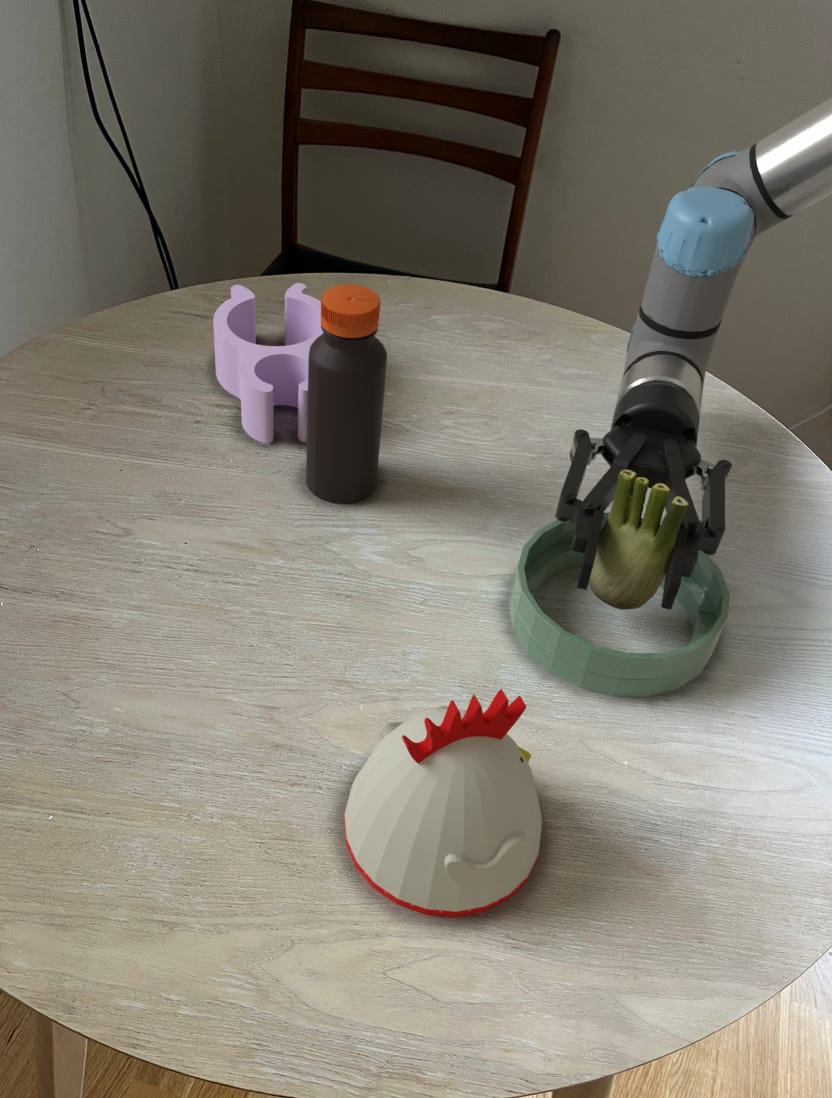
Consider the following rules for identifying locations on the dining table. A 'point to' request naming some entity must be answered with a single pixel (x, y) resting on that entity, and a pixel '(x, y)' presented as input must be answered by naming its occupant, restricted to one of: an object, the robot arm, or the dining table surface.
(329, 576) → the dining table surface
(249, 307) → the clip
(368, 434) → the bottle
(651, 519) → the fennel bulb
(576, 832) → the dining table surface
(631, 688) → the green faceted ring
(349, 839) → the kitchen timer
